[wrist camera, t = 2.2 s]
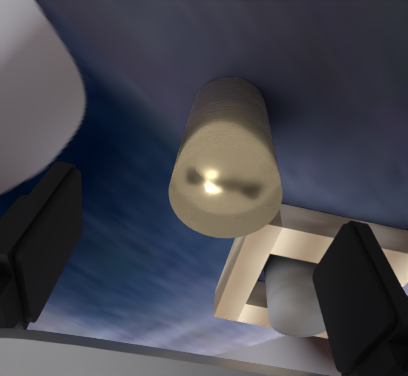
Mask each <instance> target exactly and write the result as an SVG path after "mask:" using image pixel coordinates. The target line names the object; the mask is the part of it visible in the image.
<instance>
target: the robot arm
mask: <svg viewBox="0 0 408 376" xmlns="http://www.w3.org/2000/svg"><path fill="white" fill-rule="evenodd" d="M81 232H82V199H81V172H80V170H76V167H75V165H72V164H67V163H62V162H56V163H55V164H54V165H53V166H52V167H51V168H50V170H49V171H48V172H47V173H46V175H45V176H44V177H43V178H42V179H41V181H40V182H39V183H38V184H37V186H36V187H35V188H34V189H33V190H32V192H31V193H30V194H29V195H28V196H27V195H23V196H20V197H19V198H18V199H17V200H16V202H15V203H14V204H13V205H12V206H11V207H10V209H9V210H8V211H7V212H6V213H5V215H4V216H3V217H2V218H1V219H0V376H328V375H321V374H316V373H310V372H304V371H298V370H292V369H286V368H279V367H274V366H267V365H261V364H255V363H249V362H243V361H236V360H230V359H224V358H218V357H212V356H205V355H199V354H193V353H186V352H180V351H174V350H167V349H161V348H155V347H148V346H142V345H135V344H129V343H122V342H116V341H109V340H103V339H97V338H89V337H82V336H75V335H68V334H60V333H53V332H46V331H36V330H26V329H27V327H28V325H29V323H30V322H32V323H34V322H36V321H37V319H38V317H39V316H40V314H41V312H42V310H43V308H44V306H45V304H46V302H47V300H48V298H49V296H50V294H51V292H52V290H53V288H54V286H55V284H56V283H57V281H58V279H59V277H60V275H61V273H62V271H63V269H64V267H65V265H66V263H67V261H68V259H69V257H70V255H71V253H72V251H73V249H74V248H75V246H76V244H77V242H78V240H79V238H80V235H81ZM312 279H313V284H314V287H315V291H316V295H317V299H318V302H319V306H320V310H321V314H322V317H323V321H324V325H325V329H326V332H327V336H328V340H329V344H330V347H331V351H332V355H333V358H334V362H335V365H336V368H337V370H338V371H339V372H341V375H342V376H408V297H407V295H406V293H405V292H404V290H403V288H402V286H401V284H400V282H399V280H398V278H397V276H396V275H395V273H394V271H393V269H392V267H391V265H390V263H389V261H388V260H387V258H386V256H385V254H384V252H383V250H382V248H381V246H380V244H379V243H378V241H377V239H376V237H375V235H374V233H373V231H372V229H371V227H370V226H369V225H368V224H366V223H362V222H357V221H349V222H348V223H347V224H343V225H342V227H341V228H340V230H339V231H338V233H337V235H336V236H335V238H334V239H333V241H332V243H331V244H330V246H329V247H328V249H327V251H326V252H325V254H324V255H323V257H322V258H321V260H320V262H319V263H318V265H317V266H316V268H315V270H314V272H313V276H312Z"/></svg>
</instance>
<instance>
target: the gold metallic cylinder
mask: <svg viewBox="0 0 408 376" xmlns="http://www.w3.org/2000/svg"><path fill="white" fill-rule="evenodd" d="M282 195H283V191H282V185H281V180H280V175H279V170H278V165H277V160H276V155H275V150H274V145H273V140H272V135H271V130H270V124H269V119H268V114H267V109H266V104H265V101H264V98H263V96H262V95H261V93H260V91H259V90H258V89H257V88H256V87H255V86H254V85H253V84H251V83H250V82H248V81H246V80H244V79H241V78H237V77H221V78H217V79H215V80H212V81H210V82H208V83H207V84H206V85H204V86H203V87H202V88H201V89H200V90H199V91H198V93H197V94H196V96H195V98H194V100H193V103H192V107H191V110H190V114H189V117H188V121H187V124H186V128H185V132H184V135H183V139H182V142H181V146H180V149H179V153H178V156H177V160H176V163H175V167H174V171H173V174H172V178H171V181H170V185H169V199H170V203H171V206H172V208H173V210H174V212H175V213H176V215H177V216H178V217H179V219H180V220H181V221H182V222H183V223H185V224H186V225H187V226H188V227H190V228H192V229H193V230H195V231H197V232H199V233H202V234H204V235H208V236H211V237H217V238H236V237H242V236H246V235H249V234H252V233H254V232H256V231H258V230H260V229H262V228H263V227H265V226H266V225H267V224H268V223H269V222H270V221H271V220H272V219H273V218H274V217H275V216H276V214H277V212H278V211H279V209H280V206H281V203H282Z"/></svg>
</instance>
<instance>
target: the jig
mask: <svg viewBox="0 0 408 376" xmlns="http://www.w3.org/2000/svg"><path fill="white" fill-rule="evenodd" d="M349 221H357V222H362V223H366V224H368V225H369V226H370V227H371V229H372V231H373V233H374V235H375V237H376V239H377V241H378V243H379V244H380V246H381V248H382V250H383V252H384V254H385V256H386V258H387V260H388V261H389V263H390V265H391V267H392V269H393V271H394V273H395V275H396V276H397V278H398V280H399V282H400V284H401V286H402V288H403V287H404V286H405V285H406V284H407V283H408V231H407V230H402V229H398V228H393V227H388V226H384V225H379V224H374V223H370V222H365V221H360V220H356V219H351V218H346V217H342V216H337V215H332V214H328V213H323V212H318V211H314V210H309V209H304V208H300V207H295V206H290V205H286V204H281V206H280V209H279V211H278V212H277V214H276V216H275V217H274V218H273V219H272V220H271V221H270V222H269V223H268V224H267V225H266V226H265V227H263V228H262V229H260V230H258V231H256V232H254V233H252V234H249V235H246V236H242V237H236V238H235V240H234V243H233V245H232V248H231V251H230V253H229V256H228V259H227V261H226V264H225V267H224V269H223V272H222V275H221V277H220V280H219V282H218V285H217V288H216V290H215V303H214V317H218V318H223V319H228V320H234V321H239V322H244V323H249V324H255V325H260V326H265V327H270V328H273V329H274V330H276V331H277V332H279V333H281V334H284V335H288V336H293V337H308V336H318V337H323V338H328V336H327V332H326V329H325V325H324V321H323V317H322V314H321V310H320V306H319V302H318V299H317V295H316V291H315V287H314V284H313V279H312V276H313V272H314V270H315V268H316V266H317V265H318V263H319V262H320V260H321V258H322V257H323V255H324V254H325V252H326V251H327V249H328V247H329V246H330V244H331V243H332V241H333V239H334V238H335V236H336V235H337V233H338V231H339V230H340V228H341V227H342V225H343V224H347V223H348V222H349ZM263 267H264V275H265V282H261V281H257V279H258V277H259V275H260V273H261V271H262V269H263Z"/></svg>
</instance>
